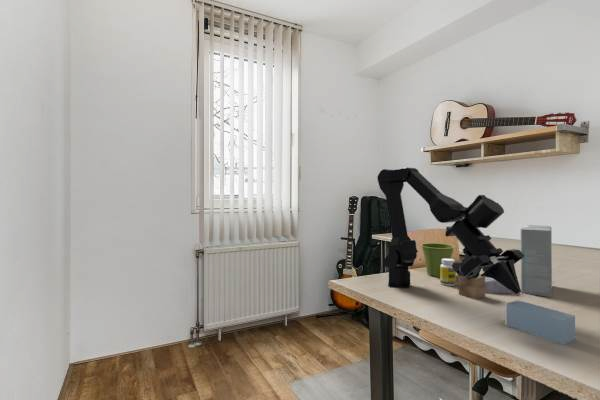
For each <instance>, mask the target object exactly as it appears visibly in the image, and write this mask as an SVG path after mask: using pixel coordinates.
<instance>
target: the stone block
mask: <svg viewBox="0 0 600 400" xmlns="http://www.w3.org/2000/svg"><path fill="white" fill-rule="evenodd" d="M481 274H482V273H480V274H479V275H481ZM510 293H511V291H510V290H509V289H508V288H506V287H505V286H503V285H502V284H501V283H499V282H498V281H496V280H495V279H493V278H490V277H485V294H510Z"/></svg>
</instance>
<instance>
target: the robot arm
mask: <svg viewBox="0 0 600 400" xmlns="http://www.w3.org/2000/svg"><path fill="white" fill-rule="evenodd" d="M376 178H377V183H378V186H379V189H380V190H381V192H382V193H383V194H384V196H385V201H386V206H387V212H388V218H389V225H390V230H391V241H390V243H389V244H388V245H389V247H388V251H389V253H388V254H387V256H385V257H384V258H383V261H382V262H383V267H386V268H387V269H388V284H387V285H388V287H395V288H405V289H407V288H410V286H411V271H410V270H409V267H413V265H414V263H415V261H416V259H417V256H418V254H417V253H419V250H418V249H417V242H416V240H415V239H413V240H412V239H411V238H410V237H409V235H408V229H407V224H406V218H405V212H404V211H405V210H404V207H403V200H402V191H403V188H404V185H405V184H404V183H407V184H408V185H409V186H410V187H411V188H412V189H413V190H414V191H415V192H416V193H417V194H418V195H419V196H420V197H421V198H422V199H423V200H424V201H425V202H426V203H427V204H428V206H429V210H430V213H431V214H432V216H433V217H434V218H435V220H436V221H437V222H439V223H442V224H444V223H445V224H448V223H453V224H452V225H450V226H445V229H446V230H445V233H444V235H445V237H447V238H448V237H455V238H456V239H457V240H458V241H459V243H461V245H462V246H463V249H462V253H463V254H464V255H465V257H464V258H463V259H461V261H455V262H453V265H452V267H453V269H454V271H455V272H456V276H457V277H459V276H463V277H465V278H466V279H468V280H470V279H472V278H474V279H475V278H477V277H478V276H479V274H481V275H480V276H482V277H490V278H493V279H495V280H496V281H498V282H499V283H501V284H502V285H503V286H505V287H506V288H508V289H509V290H510V292H512V293H513V294H515V295H519V294H520V293H521V285H520V283H519V280H518V279H519V278H518V276H517V272H516V268H515V265H516V263H518V262H519V261H521V259H522V258H523V257H524V256H525V255H524V254H523V253H522V252H521V249H518V248H517V249H516V248H512V249H507V250H505V251H504V250H503V249H502V248H497V247H495V245H494V244H493V243H492V242H491V239H492V237H491V236H490V235H485V234H484V233H483V232H482V231H481V230H480V229H481V228H483V229H487V228H489V226H490V225H492V224H493V223H494V222H495V221H497V219H498V218H500V217H501V216H502V215H503V214H504V213H505V210H504V208H503V207H502V205H500V204H499V203H498V202H496V201H495V200H493V199H491V198H489V197H487V196H486V195H485V194H479V195H477V196H476V198H475V199H474V200H473V201H472V202H471V203H470V205H468V206H467V207H466V206H464V205H463V204H462V203H461V202H459V201H458V200H456V199H454V198H453V197H449V196H447V195H445V194H444V193H442V192H441V191H440V190H439V189H437V187H436V186H434V185H433V184H432V183H431V182H430V181H429V180H428V179H427V178H426V177H425V176H424V175H422V174H421V173H420V172H419V169H417V168H416V167H403V168H398V169H397V168H396V169H386V168H385V169H382V170H380V171H379V173H378V175H377V177H376ZM481 270H482V272H483V273H480V272H481Z"/></svg>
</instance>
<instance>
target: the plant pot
mask: <svg viewBox="0 0 600 400" xmlns="http://www.w3.org/2000/svg"><path fill="white" fill-rule="evenodd" d="M420 247H421V248H422V252H423V256H424V262H425V268H426V274H427V275H428V276H430V275H431V276H433V277H435V278H440V266H441V264H442V259H444V258H447V259H452V255H453V252H454V249H455V247H456V246H455V245H453V244H448V243H440V242H439V243H437V242H429V243H428V242H426V243H421V244H420Z"/></svg>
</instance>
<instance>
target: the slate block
mask: <svg viewBox="0 0 600 400" xmlns="http://www.w3.org/2000/svg"><path fill="white" fill-rule="evenodd" d="M504 306H505V307H504V309H505V310H504V314H505V316H504V317H505V318H504V325H505V326H508V327H510V328H513V329H515V330H519V331H522V332H525V333H528V334H530V335H533V336H536V337H539V338H542V339H545V340H548V341H551V342H553V343H557V344H559V345H562V346H564V345H567V344H568V343H572V342H573V341H575V340H576V315H574V314H571V313H567V312H562V311H559V310H557V309H553V308H552V309H551V308H548V307H544V306H541V305H538V304H533V303H529V302H526V301H522V300H520V299H516V300H512V301H509V302H505V304H504Z"/></svg>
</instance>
